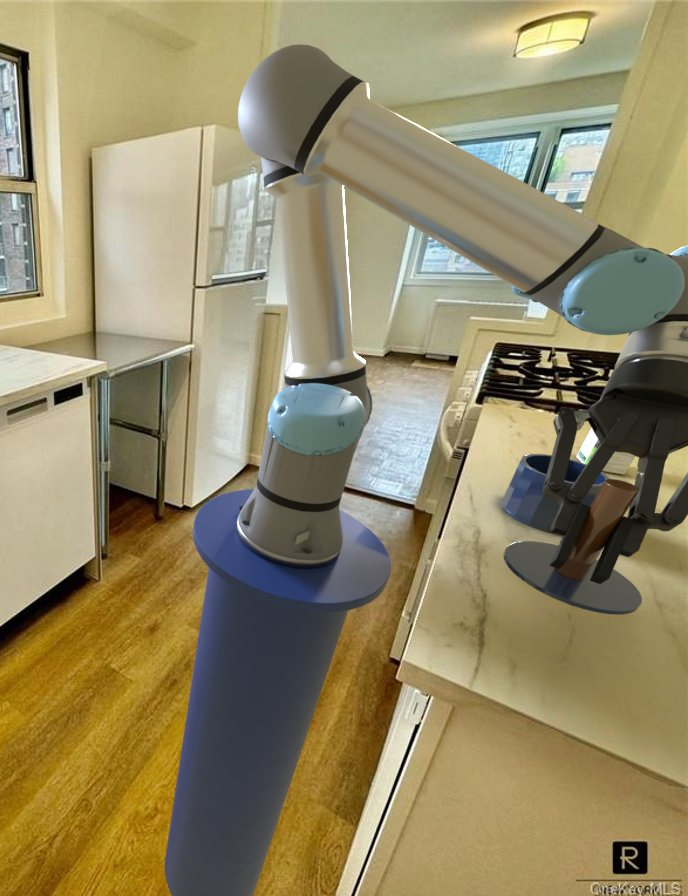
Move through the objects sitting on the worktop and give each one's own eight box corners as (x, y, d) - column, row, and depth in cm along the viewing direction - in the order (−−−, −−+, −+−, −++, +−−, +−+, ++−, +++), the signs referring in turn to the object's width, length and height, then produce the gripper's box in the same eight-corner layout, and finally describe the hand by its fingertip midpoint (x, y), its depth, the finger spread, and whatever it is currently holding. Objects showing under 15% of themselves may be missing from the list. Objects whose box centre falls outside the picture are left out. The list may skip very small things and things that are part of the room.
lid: (492, 579, 52) (542, 483, 47) (509, 536, 59) (553, 448, 54) (637, 638, 45) (714, 533, 40) (636, 581, 52) (702, 485, 47)
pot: (495, 514, 77) (516, 468, 74) (505, 491, 84) (526, 448, 80) (581, 543, 71) (609, 494, 67) (585, 515, 77) (611, 469, 74)
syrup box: (574, 456, 96) (610, 387, 89) (614, 463, 94) (654, 392, 87) (584, 468, 91) (623, 396, 85) (626, 475, 89) (669, 402, 82)
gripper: (575, 341, 53) (488, 527, 50) (806, 374, 43) (714, 607, 40) (557, 377, 59) (478, 546, 56) (758, 413, 49) (675, 619, 46)
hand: (578, 571), depth 48 cm, fingers closed on lid, 2 cm apart
